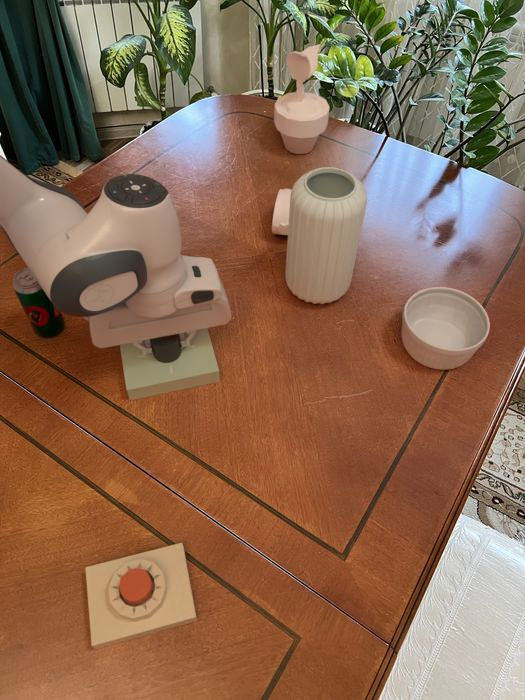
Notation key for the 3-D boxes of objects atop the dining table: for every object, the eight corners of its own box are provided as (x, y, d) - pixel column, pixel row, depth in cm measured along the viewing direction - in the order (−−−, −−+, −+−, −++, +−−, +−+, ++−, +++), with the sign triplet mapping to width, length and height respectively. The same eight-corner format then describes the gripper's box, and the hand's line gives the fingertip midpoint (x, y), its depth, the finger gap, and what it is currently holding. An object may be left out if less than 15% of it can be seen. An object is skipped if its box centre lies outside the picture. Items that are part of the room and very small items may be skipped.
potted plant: (308, 169, 123) (319, 50, 103) (263, 151, 126) (265, 32, 106) (336, 141, 129) (352, 23, 109) (292, 124, 133) (300, 8, 113)
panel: (129, 400, 87) (126, 389, 84) (121, 345, 93) (117, 333, 91) (219, 381, 89) (219, 370, 87) (205, 328, 96) (204, 316, 93)
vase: (339, 319, 97) (358, 215, 80) (275, 301, 100) (280, 196, 82) (356, 274, 104) (377, 169, 86) (296, 258, 106) (305, 152, 88)
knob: (155, 365, 87) (151, 348, 84) (151, 343, 90) (147, 326, 86) (183, 359, 88) (181, 342, 84) (178, 338, 90) (176, 320, 87)
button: (123, 608, 66) (121, 604, 64) (120, 576, 68) (117, 572, 66) (155, 599, 66) (152, 595, 65) (150, 568, 68) (148, 564, 67)
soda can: (70, 331, 95) (50, 280, 85) (41, 344, 93) (17, 294, 83) (58, 312, 97) (37, 260, 88) (30, 324, 95) (5, 273, 86)
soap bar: (320, 251, 107) (324, 218, 101) (271, 244, 108) (272, 210, 102) (328, 211, 114) (333, 177, 108) (282, 204, 115) (284, 170, 109)
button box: (95, 649, 66) (87, 643, 63) (89, 572, 72) (81, 562, 68) (197, 621, 68) (194, 613, 65) (184, 547, 74) (181, 537, 70)
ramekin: (386, 361, 92) (395, 334, 86) (405, 304, 99) (414, 276, 94) (469, 387, 89) (483, 361, 84) (482, 327, 97) (496, 299, 91)
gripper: (77, 316, 73) (100, 377, 84) (232, 288, 77) (235, 350, 88) (74, 282, 77) (96, 344, 88) (222, 256, 80) (226, 319, 91)
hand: (166, 347), depth 88 cm, fingers closed on knob, 4 cm apart
